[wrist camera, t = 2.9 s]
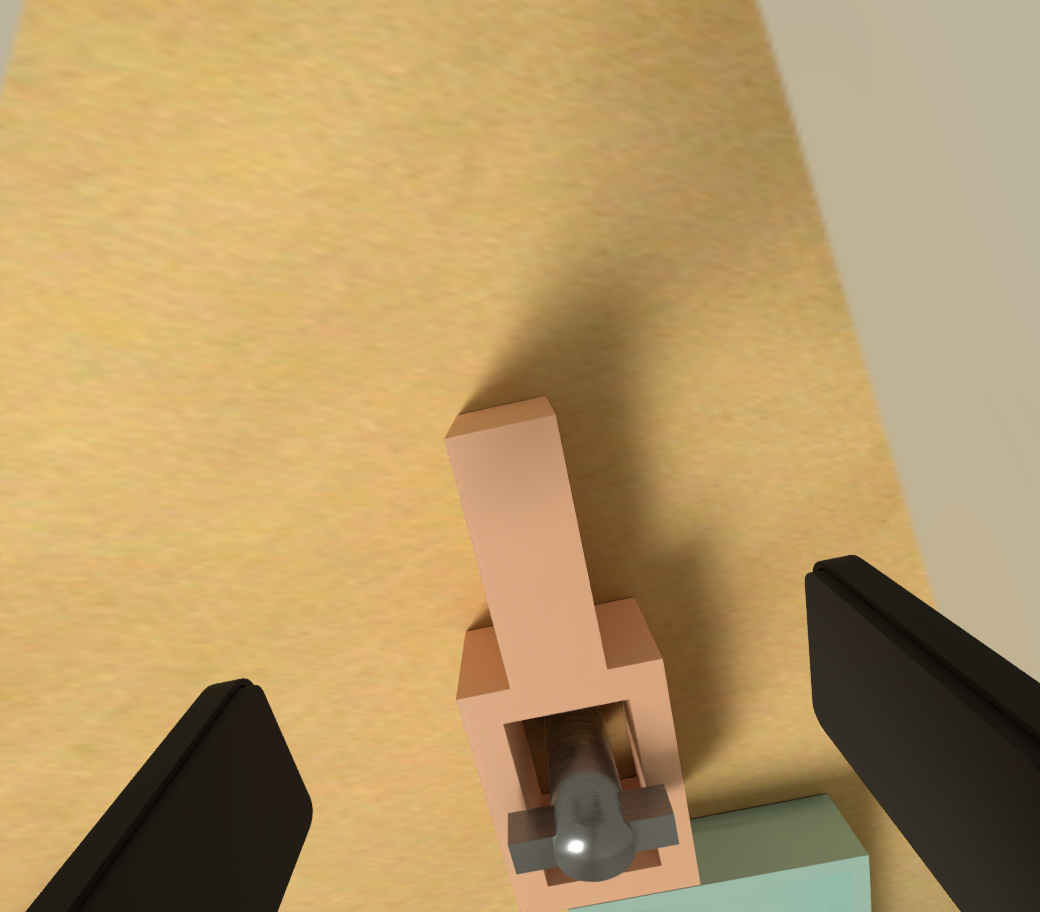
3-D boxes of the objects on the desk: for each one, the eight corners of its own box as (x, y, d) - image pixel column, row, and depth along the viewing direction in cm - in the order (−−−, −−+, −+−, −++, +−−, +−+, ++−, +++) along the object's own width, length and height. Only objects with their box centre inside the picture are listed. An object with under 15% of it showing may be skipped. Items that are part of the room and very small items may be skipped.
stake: (640, 729, 20) (684, 866, 15) (518, 753, 20) (520, 896, 15) (630, 679, 19) (673, 804, 14) (504, 704, 20) (503, 836, 14)
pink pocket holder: (669, 793, 21) (700, 884, 17) (519, 822, 21) (521, 917, 18) (596, 384, 16) (619, 400, 13) (407, 426, 17) (381, 452, 13)
